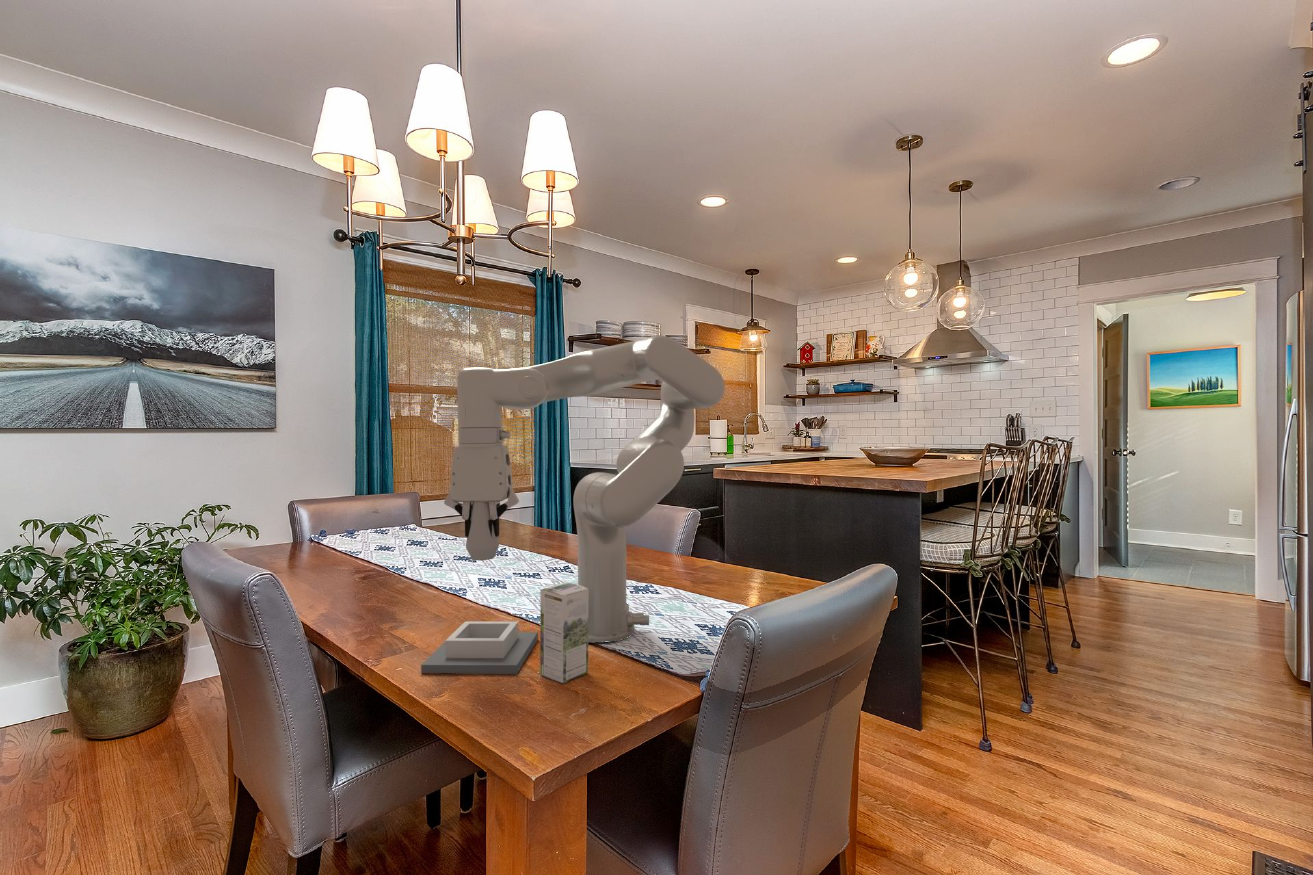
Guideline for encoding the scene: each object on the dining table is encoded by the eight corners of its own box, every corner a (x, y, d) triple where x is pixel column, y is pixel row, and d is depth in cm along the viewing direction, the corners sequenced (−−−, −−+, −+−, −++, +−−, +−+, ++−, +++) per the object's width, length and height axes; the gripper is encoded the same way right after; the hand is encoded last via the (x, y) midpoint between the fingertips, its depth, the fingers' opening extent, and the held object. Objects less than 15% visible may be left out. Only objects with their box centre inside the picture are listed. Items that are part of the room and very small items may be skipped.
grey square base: (537, 639, 118) (537, 616, 117) (516, 674, 102) (516, 647, 101) (455, 639, 118) (454, 616, 118) (421, 673, 102) (420, 647, 102)
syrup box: (565, 664, 105) (564, 580, 105) (589, 673, 102) (589, 586, 101) (539, 675, 101) (538, 588, 101) (564, 685, 97) (563, 594, 97)
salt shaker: (490, 562, 106) (488, 487, 105) (459, 561, 107) (458, 487, 107) (505, 555, 112) (503, 483, 111) (476, 554, 113) (474, 483, 112)
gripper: (531, 436, 112) (532, 536, 113) (442, 437, 113) (444, 537, 113) (521, 438, 105) (522, 545, 105) (426, 439, 105) (428, 545, 106)
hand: (482, 540), depth 109 cm, fingers closed on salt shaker, 3 cm apart
